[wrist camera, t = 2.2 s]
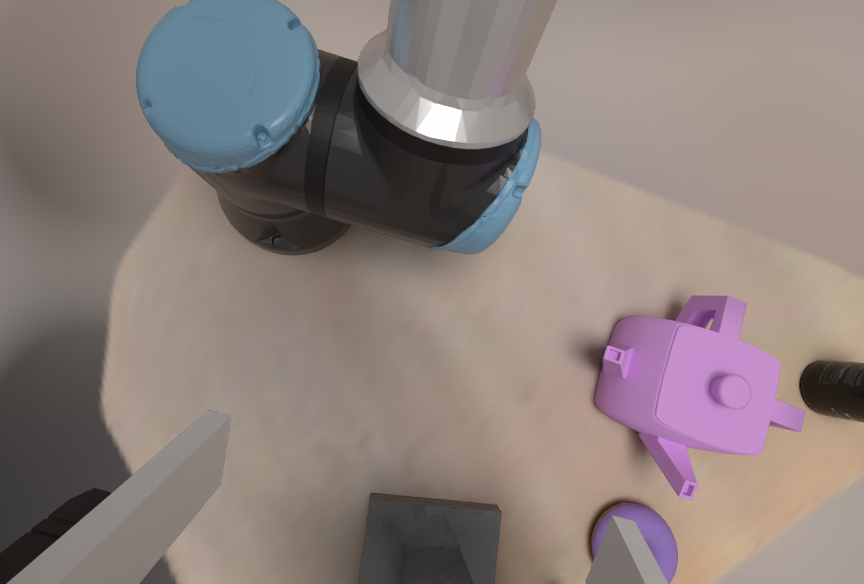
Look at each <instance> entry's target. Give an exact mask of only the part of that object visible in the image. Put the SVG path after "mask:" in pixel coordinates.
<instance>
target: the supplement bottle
mask: <svg viewBox="0 0 864 584" xmlns="http://www.w3.org/2000/svg"><path fill="white" fill-rule="evenodd" d="M801 390H802V394H803V397H804V399H805V401H806V403H807V404H808V405H809V406H810V407H811V408H812V409H813V410H814V411H816V412H817V413H819V414H822V415H826V416H831V417H836V418H841V419H847V420H853V421H858V422H864V363H858V362H841V361H819V362H816V363H814V364H812V365H811V366H809V367H808V368H807V369H806V371H805V372H804V374H803V377H802V381H801Z"/></svg>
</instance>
